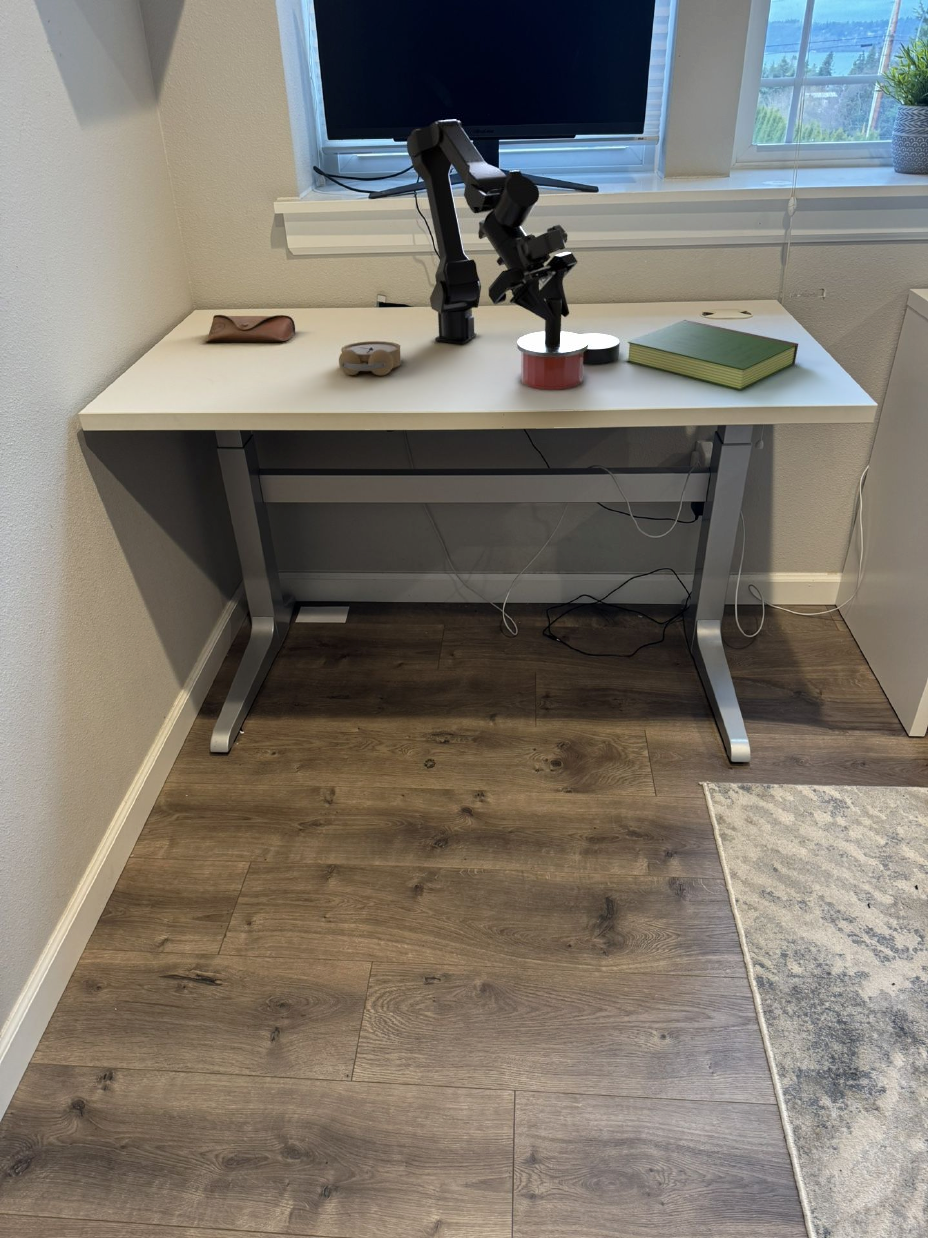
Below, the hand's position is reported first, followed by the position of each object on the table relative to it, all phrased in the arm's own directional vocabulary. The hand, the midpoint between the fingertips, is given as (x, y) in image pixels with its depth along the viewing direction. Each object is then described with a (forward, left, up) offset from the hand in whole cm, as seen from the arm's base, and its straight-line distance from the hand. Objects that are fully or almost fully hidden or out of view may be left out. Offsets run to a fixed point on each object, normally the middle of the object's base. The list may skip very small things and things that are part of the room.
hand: (559, 318), depth 151 cm
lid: (-1, 0, -5) cm, 5 cm away
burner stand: (+1, +15, -11) cm, 19 cm away
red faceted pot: (-1, 0, -11) cm, 11 cm away
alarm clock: (-35, -8, -11) cm, 38 cm away
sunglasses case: (-70, -1, -11) cm, 71 cm away
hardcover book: (+22, +20, -11) cm, 32 cm away
